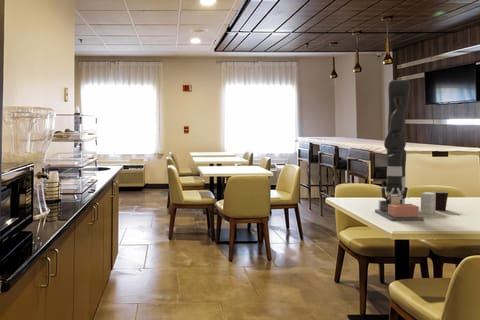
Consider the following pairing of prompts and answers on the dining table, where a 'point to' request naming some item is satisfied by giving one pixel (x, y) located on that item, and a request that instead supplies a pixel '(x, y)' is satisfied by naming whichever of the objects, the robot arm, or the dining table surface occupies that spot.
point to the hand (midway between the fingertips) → (393, 206)
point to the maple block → (394, 199)
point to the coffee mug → (440, 200)
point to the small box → (428, 202)
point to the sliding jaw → (403, 210)
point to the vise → (384, 212)
